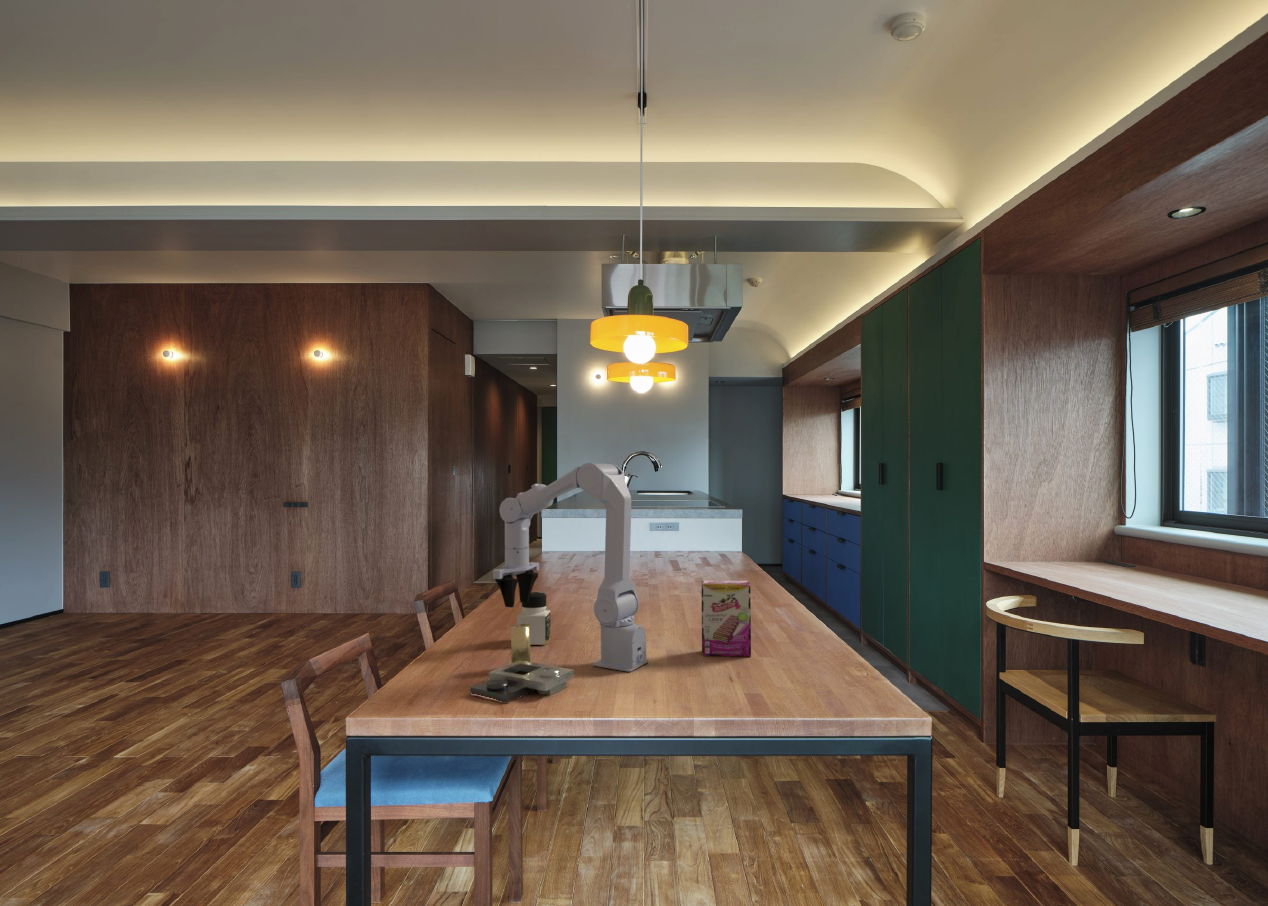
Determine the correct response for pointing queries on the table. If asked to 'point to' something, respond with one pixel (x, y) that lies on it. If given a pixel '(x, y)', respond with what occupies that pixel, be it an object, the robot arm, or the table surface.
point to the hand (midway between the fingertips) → (517, 604)
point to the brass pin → (520, 642)
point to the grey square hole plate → (534, 676)
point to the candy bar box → (726, 618)
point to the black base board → (501, 689)
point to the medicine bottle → (536, 618)
